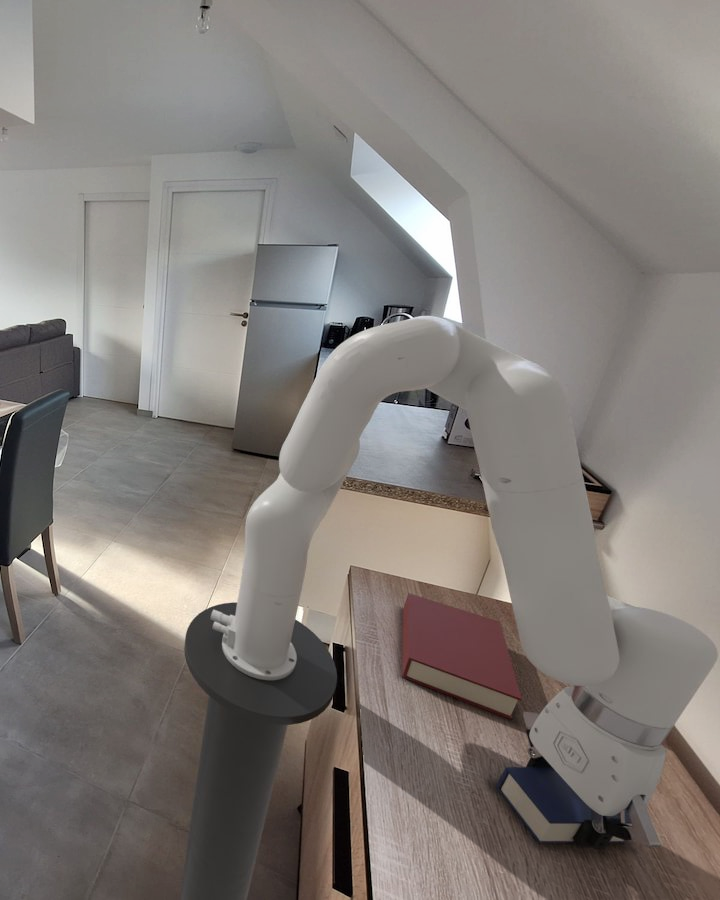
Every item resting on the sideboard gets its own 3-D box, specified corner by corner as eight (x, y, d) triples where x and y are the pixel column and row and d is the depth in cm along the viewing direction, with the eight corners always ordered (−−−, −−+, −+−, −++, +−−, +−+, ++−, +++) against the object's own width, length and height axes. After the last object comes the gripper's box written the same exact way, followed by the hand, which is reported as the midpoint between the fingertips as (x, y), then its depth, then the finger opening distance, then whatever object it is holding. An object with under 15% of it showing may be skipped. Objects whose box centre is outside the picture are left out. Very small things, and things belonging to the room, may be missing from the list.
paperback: (538, 843, 55) (550, 822, 54) (495, 787, 61) (505, 766, 60) (624, 842, 55) (639, 822, 54) (574, 787, 62) (585, 767, 60)
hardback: (511, 720, 71) (522, 699, 69) (402, 677, 78) (409, 657, 76) (492, 640, 87) (499, 621, 85) (402, 610, 94) (408, 592, 92)
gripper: (522, 651, 60) (479, 745, 66) (675, 789, 44) (598, 897, 50) (577, 651, 60) (528, 745, 66) (749, 790, 44) (663, 897, 50)
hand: (559, 810), depth 58 cm, fingers closed on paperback, 6 cm apart
